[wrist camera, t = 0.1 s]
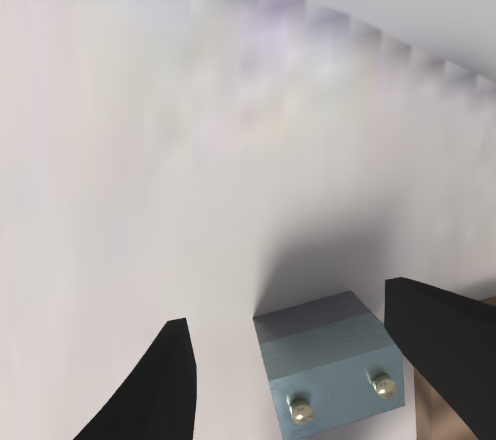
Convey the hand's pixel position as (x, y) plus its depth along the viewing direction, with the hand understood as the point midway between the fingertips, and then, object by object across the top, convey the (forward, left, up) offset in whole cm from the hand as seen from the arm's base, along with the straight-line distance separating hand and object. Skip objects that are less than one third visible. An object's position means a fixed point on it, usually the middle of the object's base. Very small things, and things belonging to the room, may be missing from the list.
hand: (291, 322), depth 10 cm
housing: (-9, -3, -10) cm, 14 cm away
